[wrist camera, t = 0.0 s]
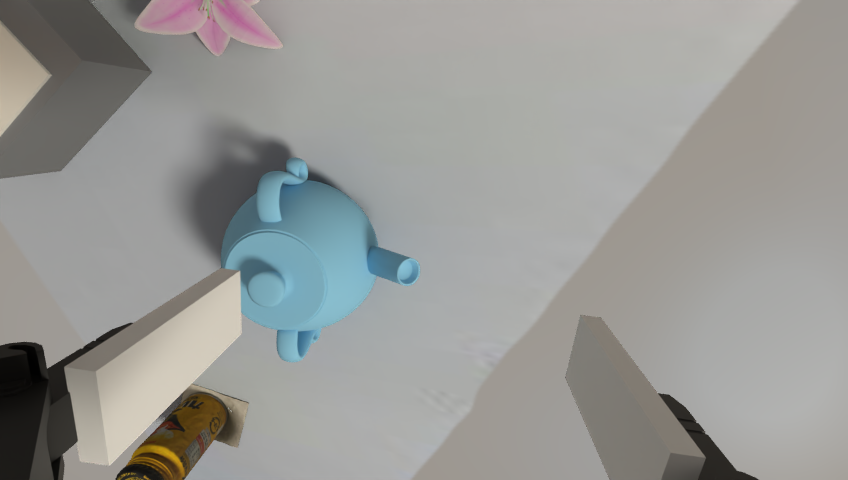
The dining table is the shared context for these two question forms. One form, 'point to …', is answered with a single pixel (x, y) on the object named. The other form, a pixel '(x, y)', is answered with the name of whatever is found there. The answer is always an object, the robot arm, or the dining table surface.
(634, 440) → the robot arm
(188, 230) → the dining table surface
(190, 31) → the lily
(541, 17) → the dining table surface
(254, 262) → the teapot
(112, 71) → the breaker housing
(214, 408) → the condiment
